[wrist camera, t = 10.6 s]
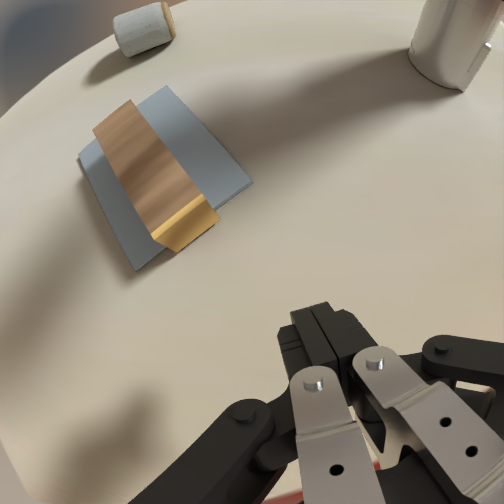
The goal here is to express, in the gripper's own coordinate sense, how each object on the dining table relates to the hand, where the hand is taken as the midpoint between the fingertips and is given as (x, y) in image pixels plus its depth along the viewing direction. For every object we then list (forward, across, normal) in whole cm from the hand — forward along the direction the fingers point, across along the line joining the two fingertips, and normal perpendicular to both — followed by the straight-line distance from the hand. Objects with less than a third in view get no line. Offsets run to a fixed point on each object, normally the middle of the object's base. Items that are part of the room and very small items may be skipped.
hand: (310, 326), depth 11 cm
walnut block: (+14, +6, -3) cm, 15 cm away
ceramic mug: (+34, +8, -31) cm, 47 cm away
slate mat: (+22, +10, -10) cm, 25 cm away
